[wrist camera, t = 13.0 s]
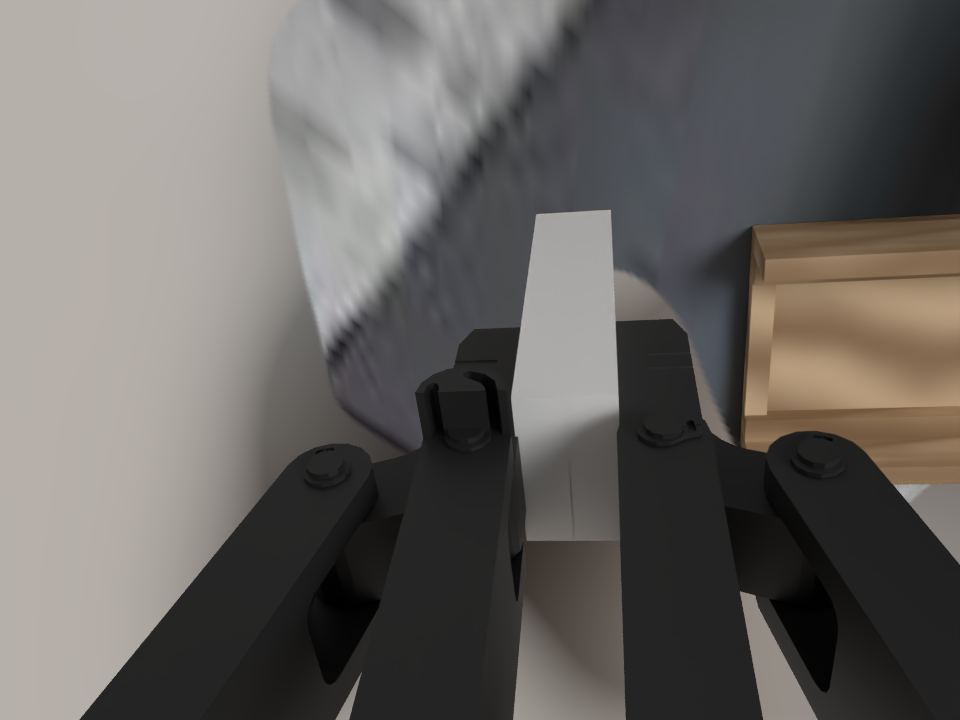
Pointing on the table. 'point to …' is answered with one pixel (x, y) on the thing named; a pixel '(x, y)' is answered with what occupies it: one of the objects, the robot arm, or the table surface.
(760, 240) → the oak box
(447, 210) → the table surface
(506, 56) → the table surface
